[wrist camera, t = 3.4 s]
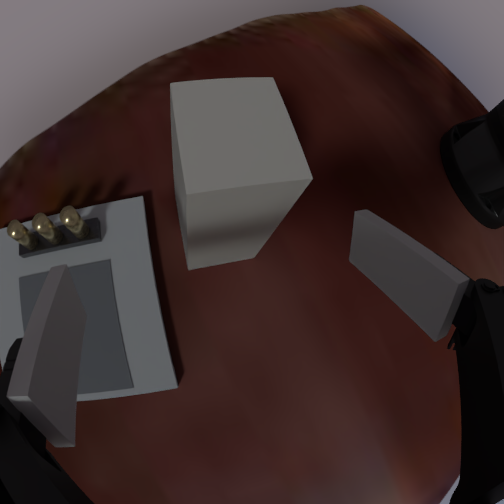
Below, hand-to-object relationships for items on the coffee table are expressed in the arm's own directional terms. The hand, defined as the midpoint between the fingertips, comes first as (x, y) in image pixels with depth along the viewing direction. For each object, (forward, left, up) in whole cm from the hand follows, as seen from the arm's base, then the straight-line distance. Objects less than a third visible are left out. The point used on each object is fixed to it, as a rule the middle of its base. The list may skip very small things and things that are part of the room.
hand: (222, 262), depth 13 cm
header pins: (+11, -6, -8) cm, 15 cm away
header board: (+11, -1, -9) cm, 14 cm away
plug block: (-1, -5, -9) cm, 11 cm away
